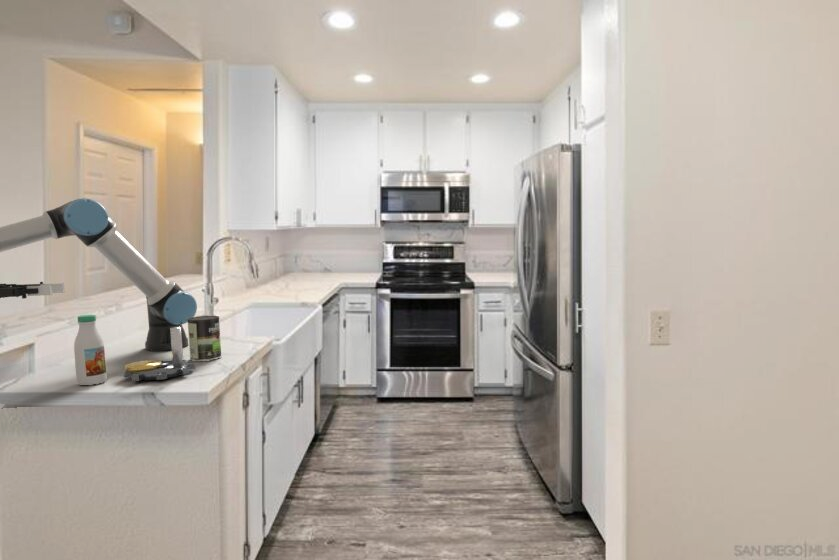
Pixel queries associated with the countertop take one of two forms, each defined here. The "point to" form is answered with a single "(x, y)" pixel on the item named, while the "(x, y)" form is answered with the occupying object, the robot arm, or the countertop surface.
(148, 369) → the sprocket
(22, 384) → the countertop surface
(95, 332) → the milk bottle
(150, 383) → the countertop surface
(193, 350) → the coffee can
